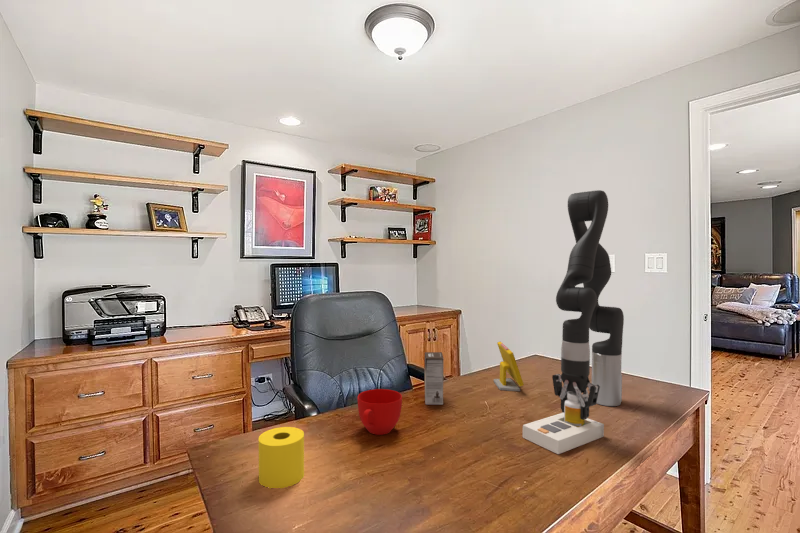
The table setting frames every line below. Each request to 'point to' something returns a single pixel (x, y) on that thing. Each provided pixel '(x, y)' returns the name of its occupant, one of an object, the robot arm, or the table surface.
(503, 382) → the yellow framed monitor
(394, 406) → the ceramic cup
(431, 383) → the coffee box
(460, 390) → the table surface
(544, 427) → the white bottle holder
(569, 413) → the supplement bottle
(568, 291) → the robot arm
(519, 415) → the table surface
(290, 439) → the yellow toilet paper roll
